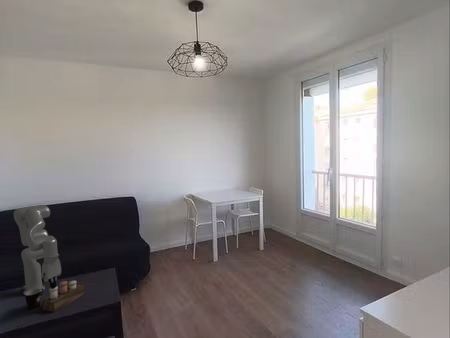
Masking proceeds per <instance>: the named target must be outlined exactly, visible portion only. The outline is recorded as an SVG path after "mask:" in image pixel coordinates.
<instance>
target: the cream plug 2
mask: <svg viewBox="0 0 450 338" xmlns="http://www.w3.org/2000/svg"><path fill="white" fill-rule="evenodd" d="M67 285H68V286H69V288H70V289H71V290H73V289H75V288H76V285H77V280H70V281H68V282H67Z"/></svg>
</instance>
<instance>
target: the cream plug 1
mask: <svg viewBox="0 0 450 338" xmlns="http://www.w3.org/2000/svg"><path fill="white" fill-rule="evenodd" d="M58 289H59V287H58V286H57V285H56V287H55V288H50V287H49V288H48V291H49V296H50V300H53V301H54V300H56V299H57V298H58V293H57V292H58Z"/></svg>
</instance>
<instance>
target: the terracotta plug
mask: <svg viewBox="0 0 450 338" xmlns="http://www.w3.org/2000/svg"><path fill="white" fill-rule="evenodd" d="M58 285H59V291H60V294H61V295H64V294H66V293H67V286H68V281H67V280H63V281H60V282H58Z"/></svg>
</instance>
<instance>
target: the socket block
mask: <svg viewBox="0 0 450 338" xmlns="http://www.w3.org/2000/svg"><path fill="white" fill-rule="evenodd" d="M84 290H85V289H84V285H82V284H81V285H80V284H76V288H75V289H73V290H71V289H70V288H69V285H67V293H66V294H64V295H61V294H60V290H57V293H58V298H57V299H56V300H54V301H53V300H50V295H49V296H48V297H46V298H44V299H42V300H41V301H42V309H43V310H44V311H49V312H53V313H56V312H57V311H59V310H61V309H62V308H64V307H66V306H68V305H69V304H71V303H72V302H73V301H75V300H77V299H78V298H81V297H82V296H84V295H85V291H84ZM83 294H84V295H83ZM43 310H42V311H43Z"/></svg>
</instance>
